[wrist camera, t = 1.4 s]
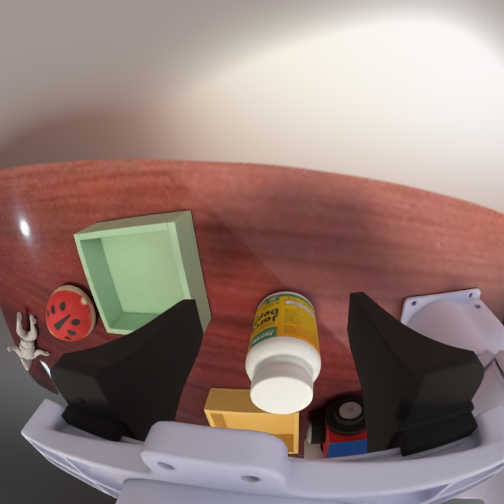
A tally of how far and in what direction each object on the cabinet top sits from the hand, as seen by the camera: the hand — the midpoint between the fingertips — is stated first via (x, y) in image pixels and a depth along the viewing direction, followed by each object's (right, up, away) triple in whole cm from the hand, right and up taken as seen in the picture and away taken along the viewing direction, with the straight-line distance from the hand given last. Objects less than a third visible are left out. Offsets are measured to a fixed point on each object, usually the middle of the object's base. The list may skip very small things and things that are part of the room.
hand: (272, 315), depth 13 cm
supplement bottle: (+2, -3, +12) cm, 13 cm away
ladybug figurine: (-23, -4, +16) cm, 28 cm away
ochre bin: (0, -17, +18) cm, 25 cm away
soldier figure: (-36, -11, +21) cm, 43 cm away
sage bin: (-10, +1, +12) cm, 16 cm away
